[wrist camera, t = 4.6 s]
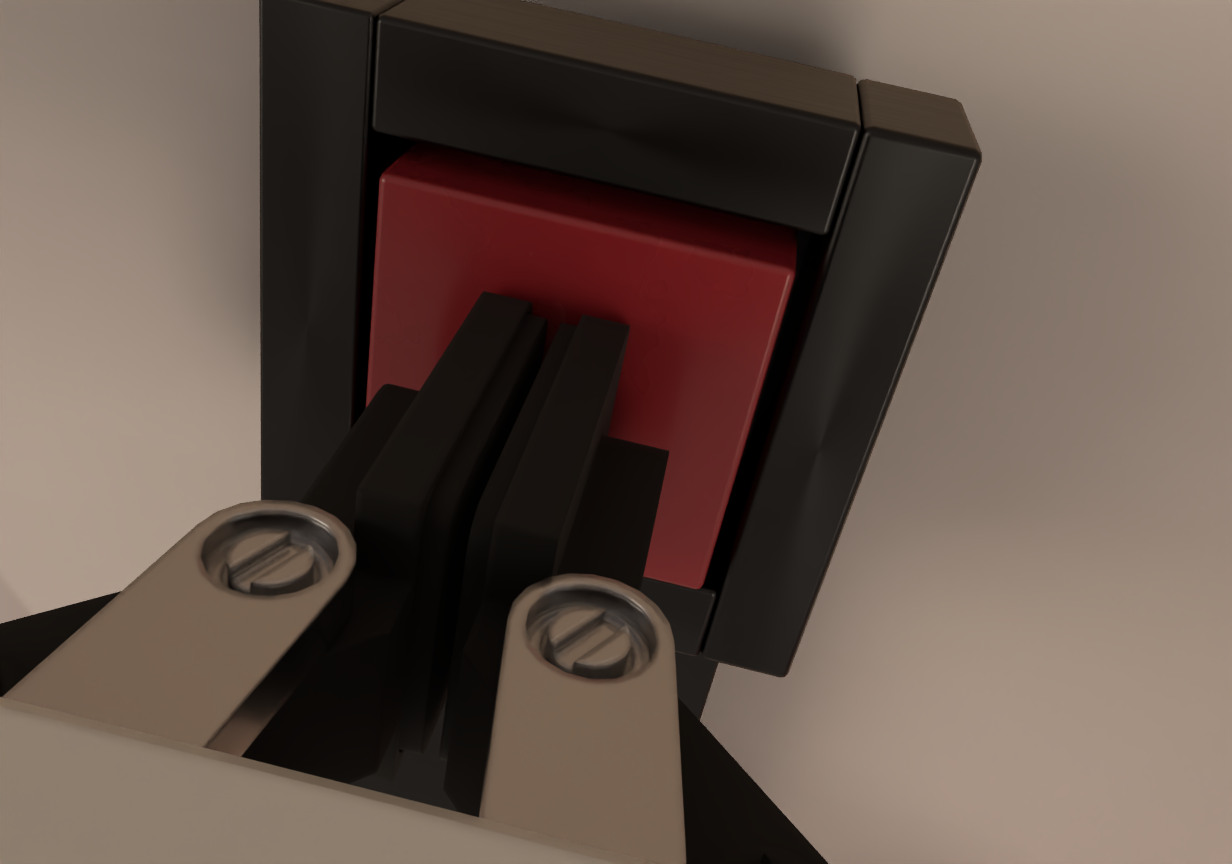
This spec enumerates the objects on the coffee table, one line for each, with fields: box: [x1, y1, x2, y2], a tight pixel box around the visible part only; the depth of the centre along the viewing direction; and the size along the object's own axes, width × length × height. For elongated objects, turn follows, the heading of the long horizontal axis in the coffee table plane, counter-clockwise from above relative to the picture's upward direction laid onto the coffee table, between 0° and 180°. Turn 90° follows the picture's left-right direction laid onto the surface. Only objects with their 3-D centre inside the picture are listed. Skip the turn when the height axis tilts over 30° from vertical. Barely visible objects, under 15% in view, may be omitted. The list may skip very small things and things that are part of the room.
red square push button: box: [366, 141, 798, 589], centre depth 13 cm, size 4×4×2 cm
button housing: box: [259, 0, 982, 812], centre depth 16 cm, size 15×7×4 cm, turn 170°
